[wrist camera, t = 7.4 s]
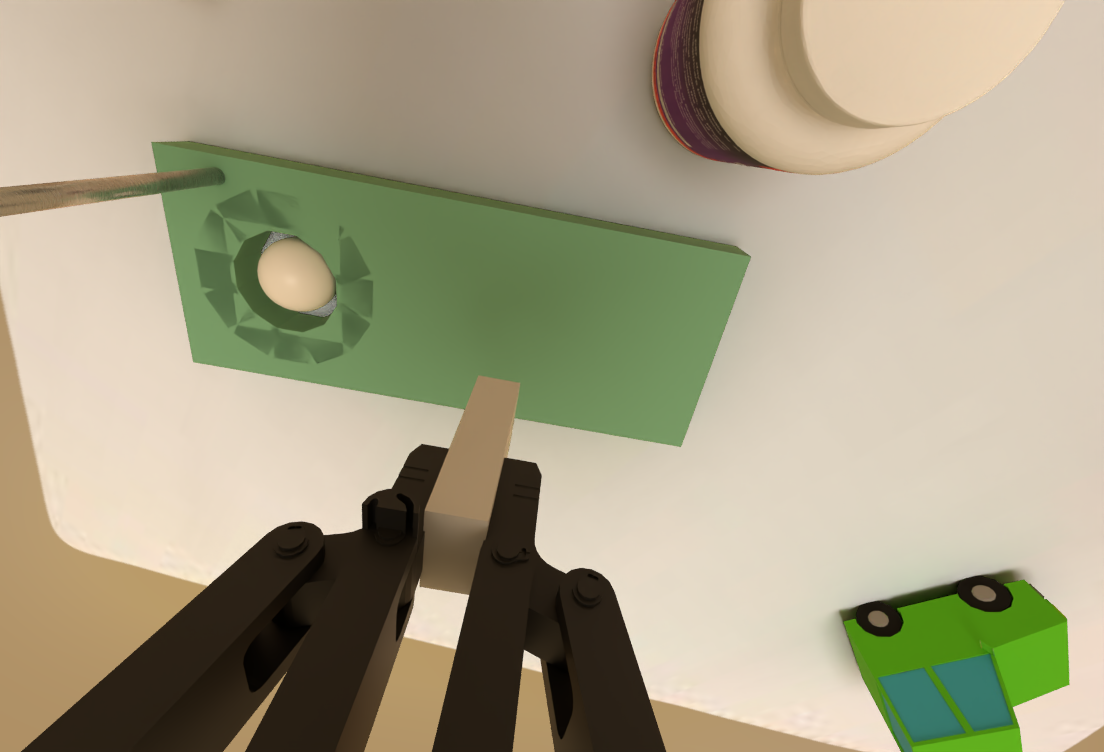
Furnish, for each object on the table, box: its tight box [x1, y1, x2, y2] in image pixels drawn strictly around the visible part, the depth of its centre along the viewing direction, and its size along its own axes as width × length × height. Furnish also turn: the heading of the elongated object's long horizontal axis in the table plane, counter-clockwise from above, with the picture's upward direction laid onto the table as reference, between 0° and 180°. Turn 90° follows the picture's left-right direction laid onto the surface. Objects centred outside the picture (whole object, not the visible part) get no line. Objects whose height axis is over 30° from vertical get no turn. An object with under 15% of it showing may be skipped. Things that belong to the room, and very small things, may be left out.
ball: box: [257, 237, 336, 312], centre depth 26 cm, size 4×4×4 cm
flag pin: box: [0, 167, 225, 217], centre depth 18 cm, size 1×4×12 cm, turn 80°
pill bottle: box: [652, 0, 1065, 175], centre depth 16 cm, size 8×8×14 cm
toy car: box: [844, 576, 1069, 752], centre depth 35 cm, size 10×13×10 cm
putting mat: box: [151, 141, 751, 447], centre depth 27 cm, size 12×30×2 cm, turn 80°
